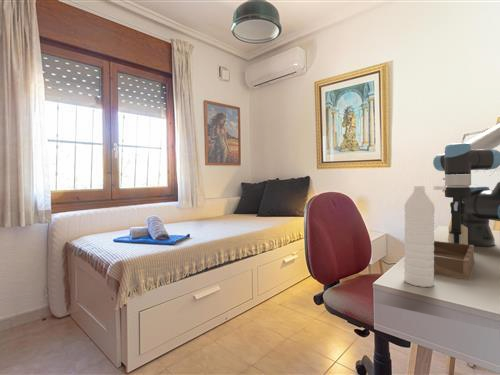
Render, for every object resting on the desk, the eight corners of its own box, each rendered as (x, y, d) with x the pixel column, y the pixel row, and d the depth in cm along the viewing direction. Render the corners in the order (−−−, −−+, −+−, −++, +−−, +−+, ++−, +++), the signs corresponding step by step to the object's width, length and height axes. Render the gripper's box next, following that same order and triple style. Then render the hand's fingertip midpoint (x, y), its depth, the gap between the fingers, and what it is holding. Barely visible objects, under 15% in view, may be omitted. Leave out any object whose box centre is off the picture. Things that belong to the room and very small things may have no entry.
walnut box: (429, 254, 96) (429, 240, 96) (473, 260, 88) (473, 245, 88) (415, 270, 79) (415, 253, 79) (468, 280, 71) (468, 261, 71)
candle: (471, 253, 94) (471, 225, 94) (453, 252, 95) (453, 224, 95) (462, 249, 100) (462, 222, 99) (445, 248, 101) (445, 222, 101)
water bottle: (403, 284, 68) (403, 186, 68) (405, 276, 74) (405, 185, 73) (445, 291, 64) (446, 186, 63) (444, 282, 69) (444, 185, 68)
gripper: (448, 185, 106) (448, 244, 107) (440, 187, 93) (441, 254, 93) (472, 185, 101) (472, 246, 102) (468, 187, 88) (469, 257, 88)
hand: (457, 250), depth 98 cm, fingers closed on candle, 5 cm apart
